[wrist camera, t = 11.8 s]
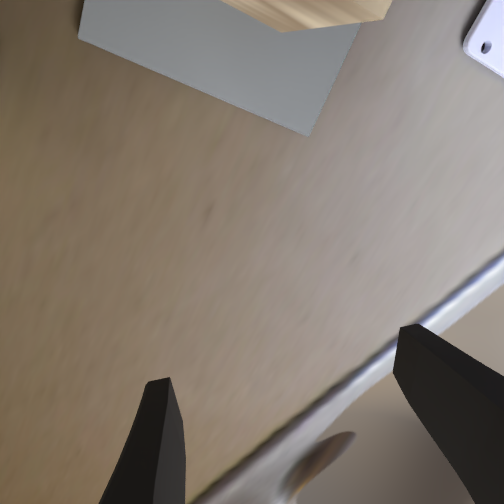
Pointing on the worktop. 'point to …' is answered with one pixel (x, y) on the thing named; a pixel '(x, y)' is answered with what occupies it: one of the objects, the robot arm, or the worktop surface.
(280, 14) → the maple part
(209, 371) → the worktop surface
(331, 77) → the slate mat
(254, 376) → the worktop surface
